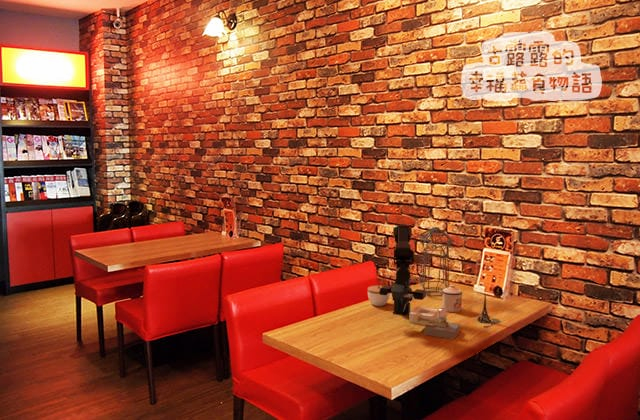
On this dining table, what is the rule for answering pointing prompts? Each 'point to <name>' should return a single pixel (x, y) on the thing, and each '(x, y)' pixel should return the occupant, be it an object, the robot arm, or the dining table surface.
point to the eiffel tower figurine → (486, 316)
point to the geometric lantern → (435, 255)
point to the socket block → (443, 330)
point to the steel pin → (442, 316)
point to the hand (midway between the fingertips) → (402, 312)
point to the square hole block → (424, 313)
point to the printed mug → (452, 299)
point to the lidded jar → (377, 296)
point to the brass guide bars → (418, 318)
